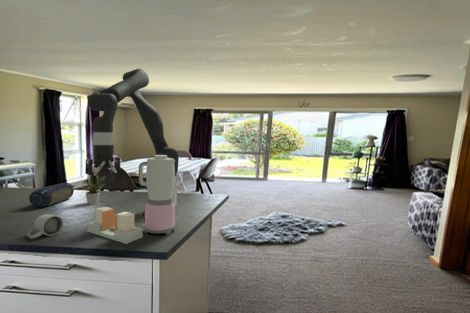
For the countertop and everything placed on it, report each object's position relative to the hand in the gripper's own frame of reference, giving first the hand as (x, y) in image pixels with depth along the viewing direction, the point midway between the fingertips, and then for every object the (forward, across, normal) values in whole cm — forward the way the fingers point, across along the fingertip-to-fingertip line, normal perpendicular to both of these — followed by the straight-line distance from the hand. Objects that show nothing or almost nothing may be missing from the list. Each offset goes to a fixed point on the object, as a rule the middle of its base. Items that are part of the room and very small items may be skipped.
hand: (103, 183), depth 110 cm
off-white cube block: (+18, 0, 0) cm, 19 cm away
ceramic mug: (+20, +15, -16) cm, 29 cm away
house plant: (+20, -25, -42) cm, 52 cm away
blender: (+20, -12, +17) cm, 29 cm away
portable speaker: (+20, -13, -61) cm, 65 cm away
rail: (+20, 0, +6) cm, 21 cm away
